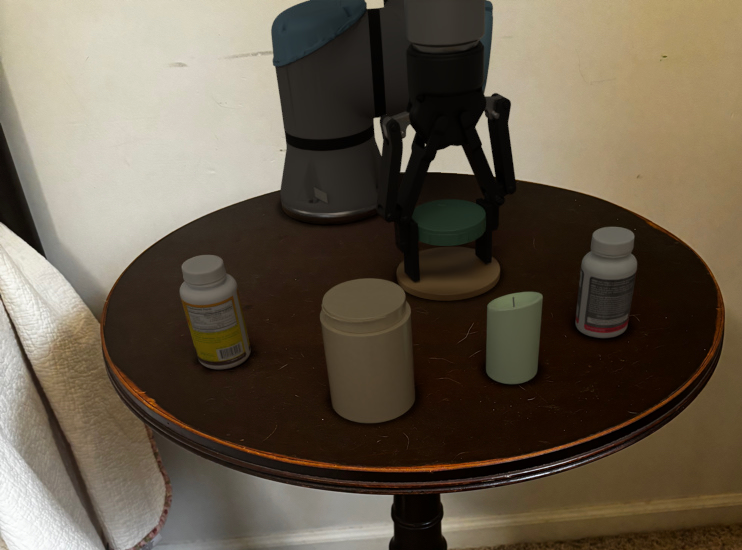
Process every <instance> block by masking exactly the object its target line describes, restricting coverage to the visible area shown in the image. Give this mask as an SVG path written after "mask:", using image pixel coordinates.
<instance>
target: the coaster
mask: <svg viewBox="0 0 742 550" xmlns="http://www.w3.org/2000/svg"><path fill="white" fill-rule="evenodd" d="M419 268H420V281H416V282H413V281H412V280H411V279H410V278H409V277H408V275H407V274H406V273H405V272H404V259H403V260H402V261H401V262H400V263H399V265H398V266H397V268H396V281H397V283H398V284H397V285H399V286H400V287H401V288H402V289H403V290H404V292H405V293H408V294H409V295H412V296H414V297H417V298H421V299H424V300H429V301H437V302H438V301H440V302H452V301H462V300H467V299H472V298H475V297H478V296H482V295H483V294H485V293H487V292H489V291H490V290H491V289H493V288H494V287H496V285H497V284H498V283H499V281H500V277H501V266H500V263H499V261H498V260H497V259H496V258H495V257H493V256H492V263H488V264H485V263H484V262H483V261H482V260H481V259H479V258H478V257H477V256H476V255H475V248H471V247H466V246H465V247H464V246H437V247H431V248H427V249H424V250H419Z"/></svg>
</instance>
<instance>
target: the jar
mask: <svg viewBox="0 0 742 550" xmlns="http://www.w3.org/2000/svg"><path fill="white" fill-rule="evenodd" d="M406 298H407V296H406V291H405V290H403V289H402V288H401V287H400V285H399V284H397V283H395V282H393V281H390V280H387V279H383V278H372V277H371V278H370V277H368V278H367V277H366V278H358V279H357V278H356V279H351V280H347V281H344V282H341V283H338V284H336V285H334V286H332V287H331V288H330V289H329V290H327V291H326V292H325V294H324V295H323V297H322V303H321V305H320V306H321V311H320V313H319V322H320V331H321V337H322V344H323V350H324V351H323V352H324V358H325V365H326V372H327V379H328V386H329V387H328V388H329V394H330V401H331V406H332V408H333V410H334V412H336V413H337V415H339V417H342V418H344V419H346V420H349V421H351V422H355V423H359V424H378V423H379V424H380V423H385V422H389V421H392V420H394V419H397V418H399V417H401V416H402V415H404V414H406V413H407V412H408V411H409V410H410V409H411V408H412V407H413V405H414V403H415V401H416V381H415V363H414V345H413V344H414V343H413V324H412V323H413V321H412V307H411V306H410V304H409V302H408V301H407V299H406Z"/></svg>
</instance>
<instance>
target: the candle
mask: <svg viewBox="0 0 742 550" xmlns="http://www.w3.org/2000/svg"><path fill="white" fill-rule="evenodd" d="M543 301H544V297H543V294H542V293H540V292H538V291H521V292H514V293H509V294H505V295H502V296H499V297H497V298H495V299H492V300H491V301H490V302H488V304H487V306H486V343H485V344H486V345H485V346H486V348H485V349H486V350H485V373H486V374H487V376H488V377H489V378H490V379H492V380H493V381H495V382H497V383H500V384H505V385H519V384H523V383H526V382H528V381H531V380H532V379H534V377H535V376H536V375H537V373H538V366H539V353H540V341H541V339H540V338H541V328H542V327H541V326H542V315H543V314H542V313H543Z"/></svg>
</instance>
